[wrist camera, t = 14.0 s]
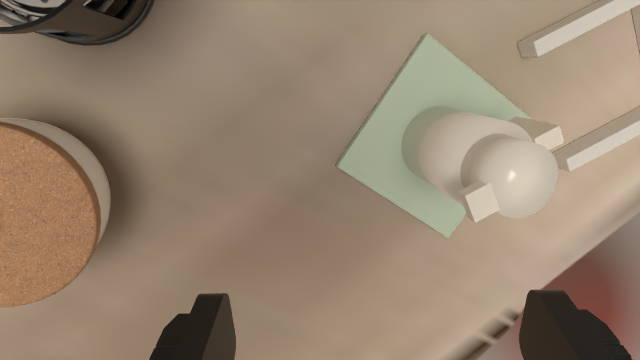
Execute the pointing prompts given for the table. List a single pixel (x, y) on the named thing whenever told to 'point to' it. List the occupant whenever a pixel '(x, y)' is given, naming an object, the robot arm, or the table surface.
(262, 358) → the table surface
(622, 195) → the table surface
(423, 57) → the mat
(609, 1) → the holder
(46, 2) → the french press
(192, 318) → the robot arm
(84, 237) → the lidded jar
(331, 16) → the table surface
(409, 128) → the figurine
